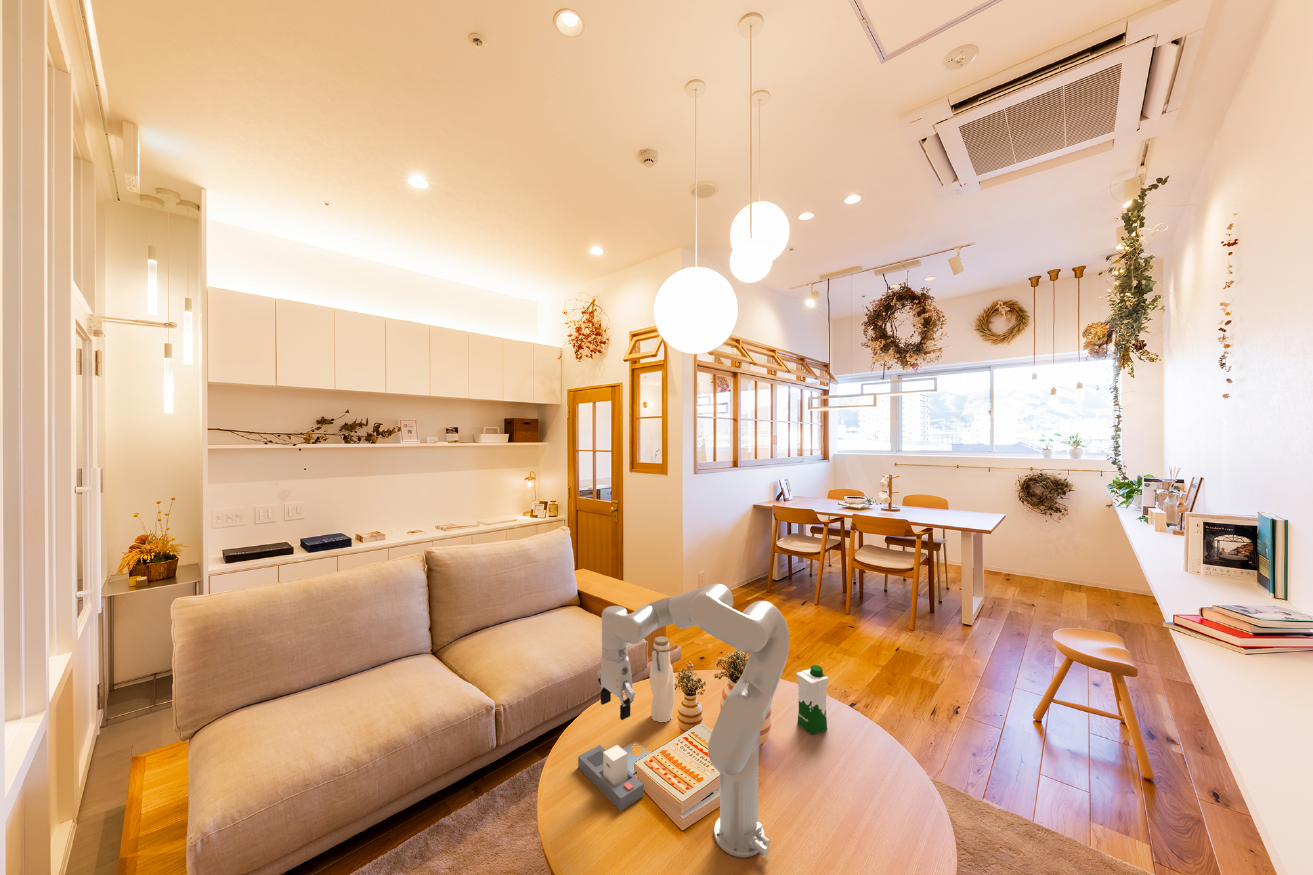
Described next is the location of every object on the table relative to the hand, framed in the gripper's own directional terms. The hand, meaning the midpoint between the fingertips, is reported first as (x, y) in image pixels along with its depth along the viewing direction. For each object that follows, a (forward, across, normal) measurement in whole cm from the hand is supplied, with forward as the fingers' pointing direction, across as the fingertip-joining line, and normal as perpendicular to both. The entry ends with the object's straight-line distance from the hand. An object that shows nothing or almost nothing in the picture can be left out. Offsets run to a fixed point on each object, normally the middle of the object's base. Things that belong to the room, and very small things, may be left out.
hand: (615, 710), depth 135 cm
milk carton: (+22, -22, -68) cm, 75 cm away
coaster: (+22, +6, -11) cm, 25 cm away
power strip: (+22, +3, 0) cm, 22 cm away
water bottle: (+22, +16, -32) cm, 42 cm away
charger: (+20, 0, 0) cm, 20 cm away
